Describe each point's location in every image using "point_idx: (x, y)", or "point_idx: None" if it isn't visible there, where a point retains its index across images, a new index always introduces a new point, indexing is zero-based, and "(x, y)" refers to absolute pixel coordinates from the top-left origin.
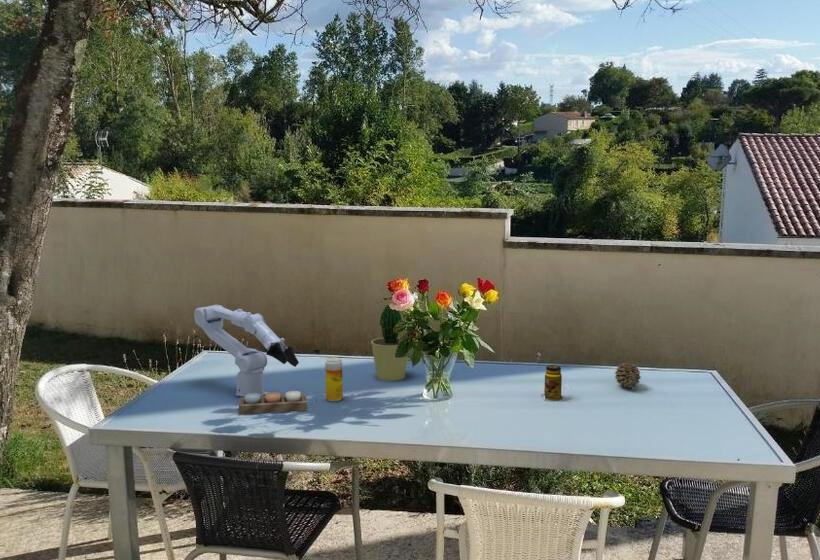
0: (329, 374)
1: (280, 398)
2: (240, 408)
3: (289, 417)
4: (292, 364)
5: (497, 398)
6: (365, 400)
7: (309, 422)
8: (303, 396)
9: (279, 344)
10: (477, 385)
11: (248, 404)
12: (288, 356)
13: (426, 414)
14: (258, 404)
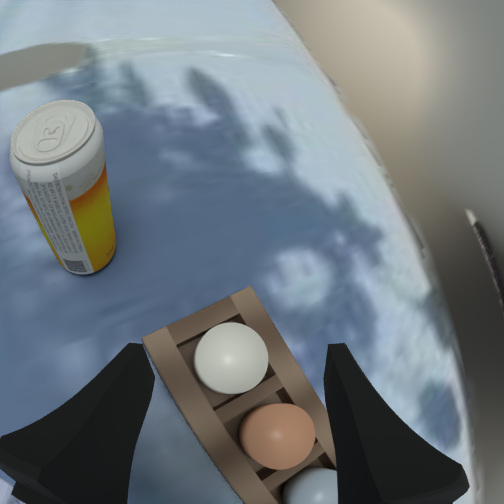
0: (103, 187)
1: (260, 407)
2: None
3: (322, 323)
4: (147, 398)
5: (83, 12)
6: None
7: (331, 247)
8: (179, 332)
9: (394, 487)
10: (8, 38)
11: None
12: (110, 456)
13: (181, 54)
14: None
